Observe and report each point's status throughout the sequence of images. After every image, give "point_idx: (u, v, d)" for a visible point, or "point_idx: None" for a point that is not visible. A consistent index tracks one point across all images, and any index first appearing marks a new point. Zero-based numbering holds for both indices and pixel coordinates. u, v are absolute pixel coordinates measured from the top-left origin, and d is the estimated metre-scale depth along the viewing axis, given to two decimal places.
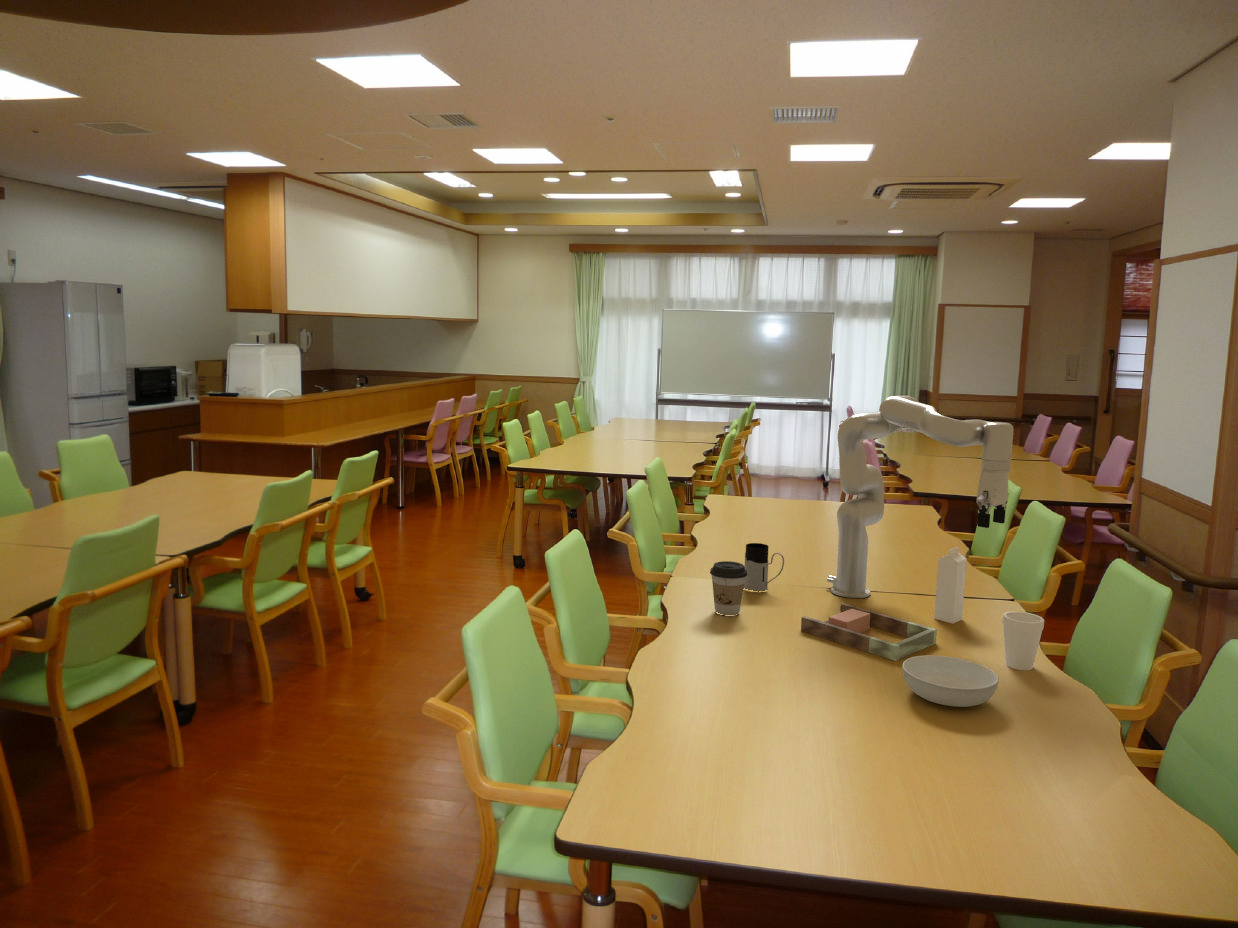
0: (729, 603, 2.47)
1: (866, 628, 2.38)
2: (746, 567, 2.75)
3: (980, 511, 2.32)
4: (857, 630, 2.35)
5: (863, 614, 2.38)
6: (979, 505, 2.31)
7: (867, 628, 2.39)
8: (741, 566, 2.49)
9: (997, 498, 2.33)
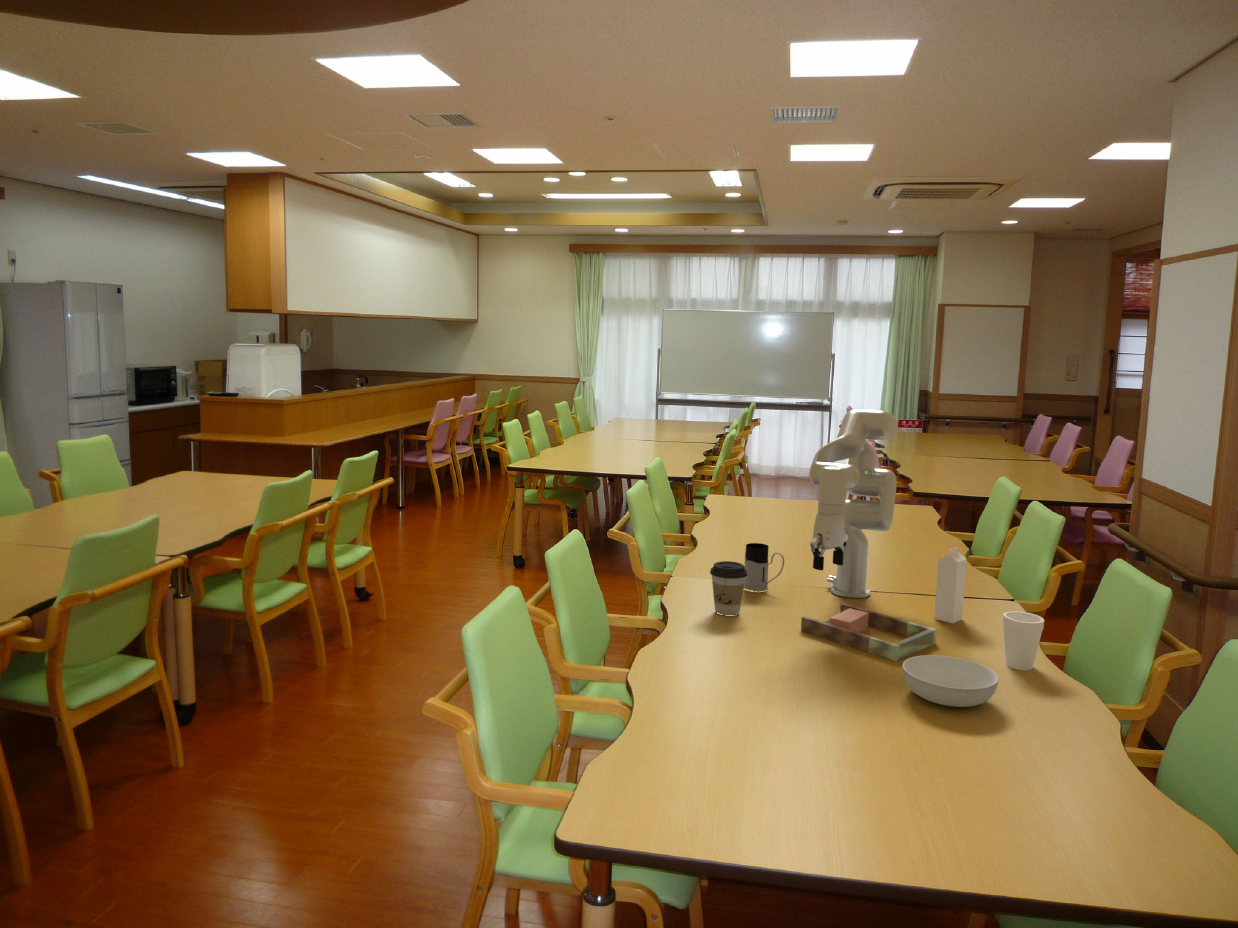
0: (729, 603, 2.48)
1: (865, 627, 2.39)
2: (746, 567, 2.75)
3: (814, 554, 2.36)
4: (858, 630, 2.35)
5: (862, 613, 2.38)
6: (812, 548, 2.35)
7: (866, 627, 2.39)
8: (741, 566, 2.49)
9: (831, 541, 2.36)
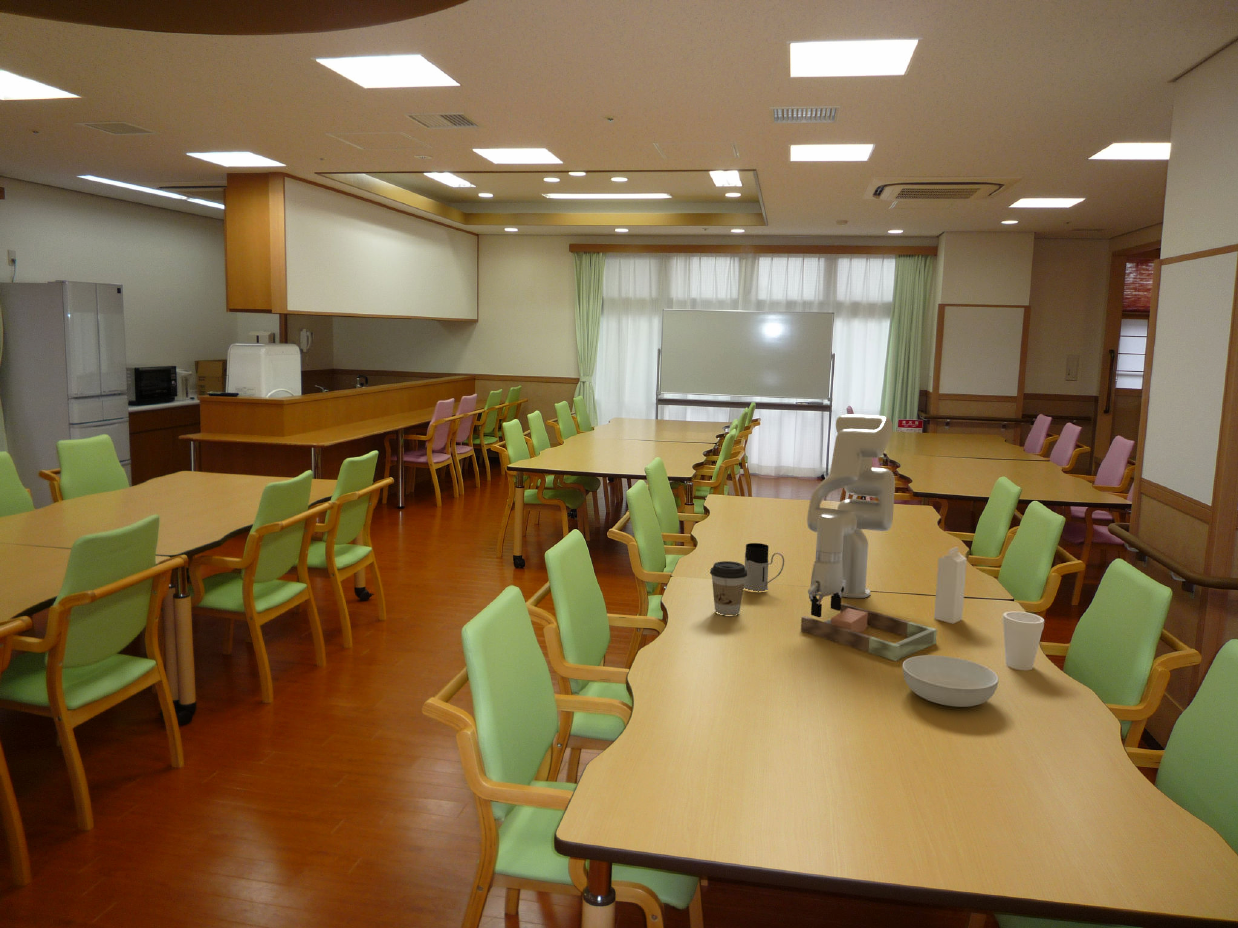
0: (729, 603, 2.47)
1: (865, 627, 2.39)
2: (746, 567, 2.75)
3: (812, 601, 2.38)
4: (858, 630, 2.35)
5: (862, 613, 2.39)
6: (810, 596, 2.37)
7: (865, 627, 2.40)
8: (741, 566, 2.49)
9: (829, 588, 2.39)
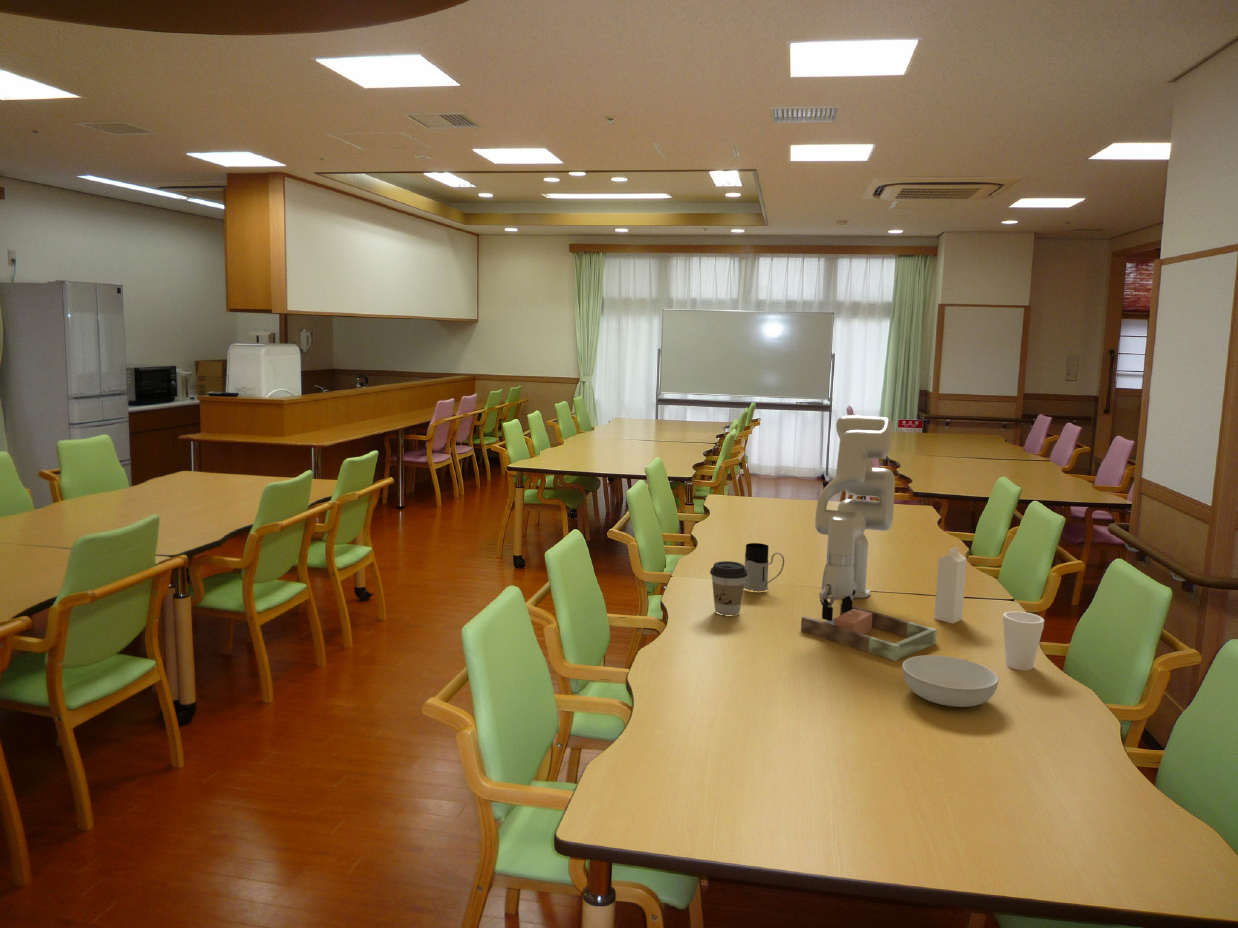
0: (729, 603, 2.47)
1: (869, 627, 2.38)
2: (746, 567, 2.75)
3: (823, 604, 2.36)
4: (862, 630, 2.34)
5: (866, 614, 2.38)
6: (821, 599, 2.34)
7: (870, 628, 2.39)
8: (741, 566, 2.49)
9: (840, 592, 2.36)
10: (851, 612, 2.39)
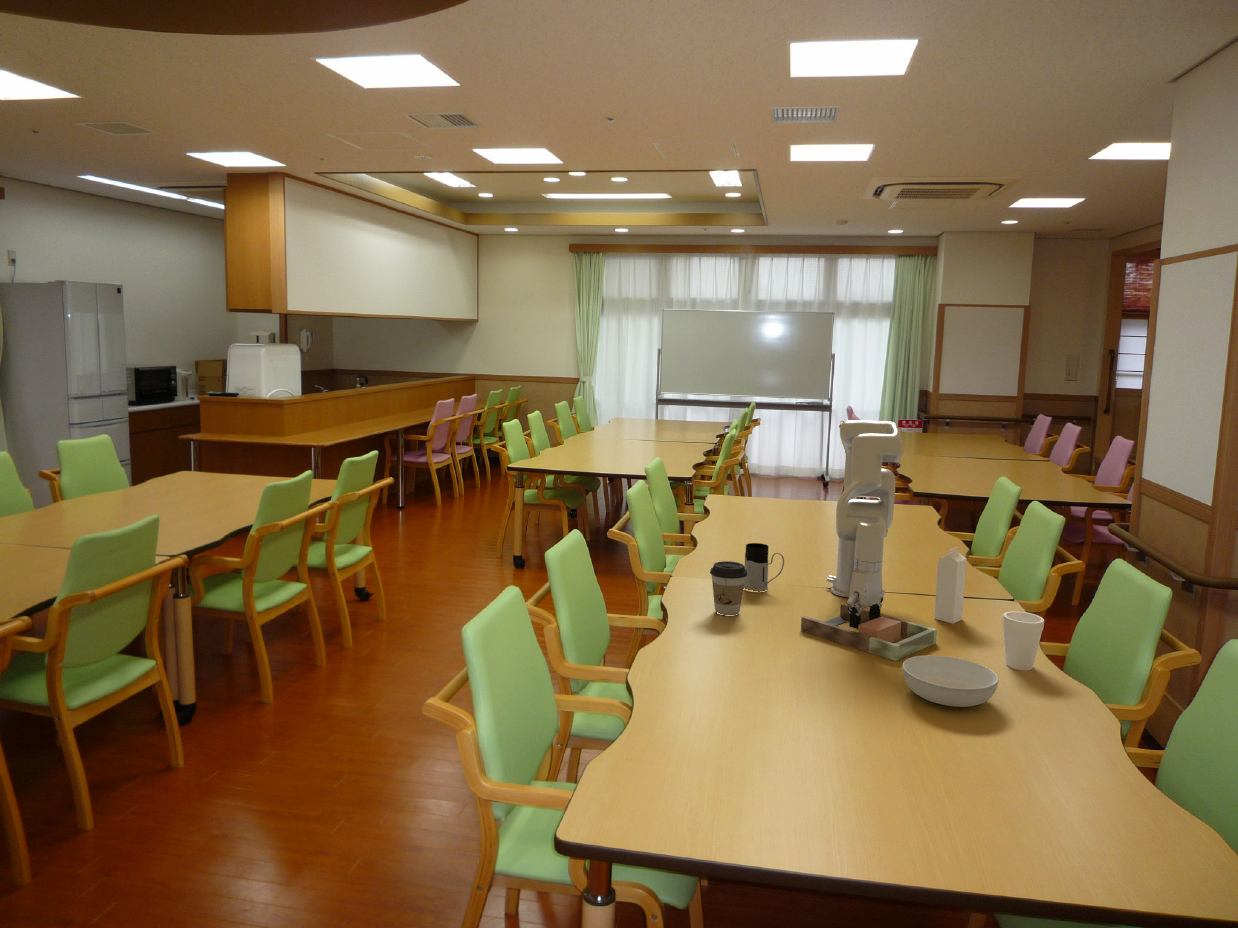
0: (729, 603, 2.47)
1: (897, 636, 2.31)
2: (746, 567, 2.75)
3: (851, 612, 2.29)
4: (888, 639, 2.28)
5: (894, 622, 2.31)
6: (849, 607, 2.27)
7: (898, 637, 2.32)
8: (741, 566, 2.49)
9: (868, 599, 2.29)
10: (879, 619, 2.33)
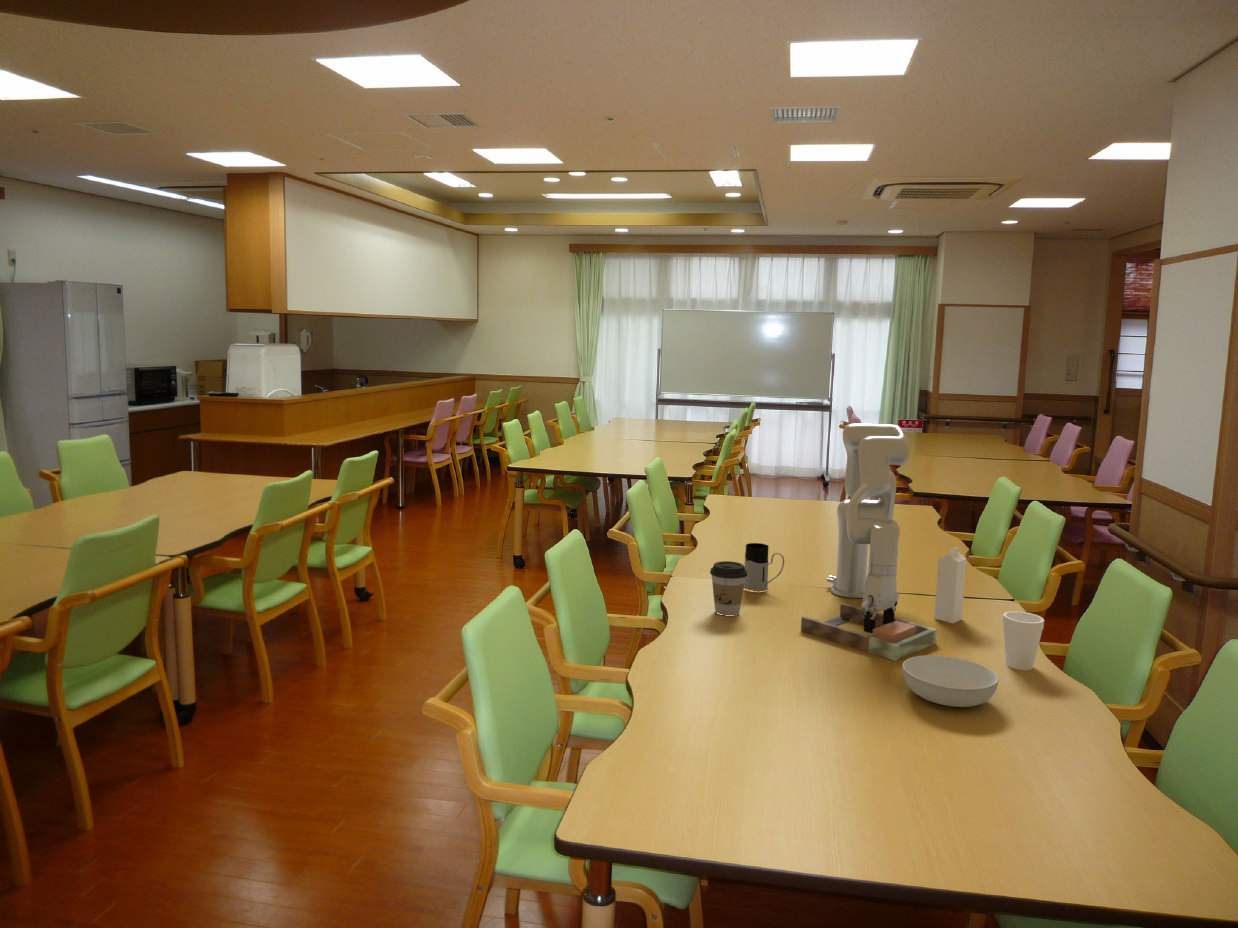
0: (729, 603, 2.47)
1: None
2: (746, 567, 2.75)
3: (865, 616, 2.26)
4: None
5: (909, 626, 2.28)
6: (863, 611, 2.24)
7: None
8: (741, 566, 2.49)
9: (883, 603, 2.26)
10: (893, 624, 2.30)
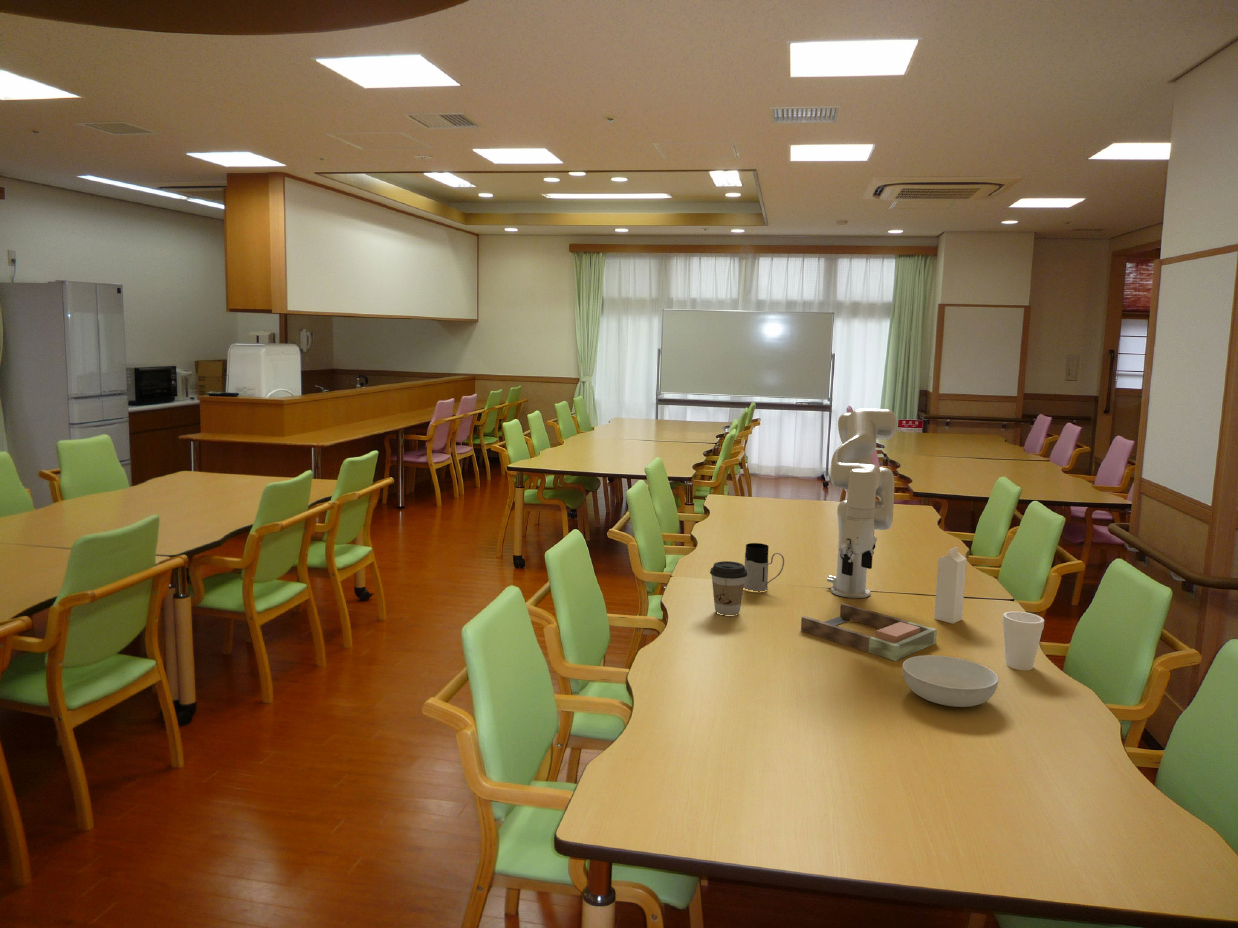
0: (729, 603, 2.48)
1: None
2: (746, 567, 2.75)
3: (843, 559, 2.30)
4: None
5: (912, 628, 2.27)
6: (841, 554, 2.29)
7: None
8: (741, 566, 2.49)
9: (860, 546, 2.30)
10: (897, 625, 2.29)
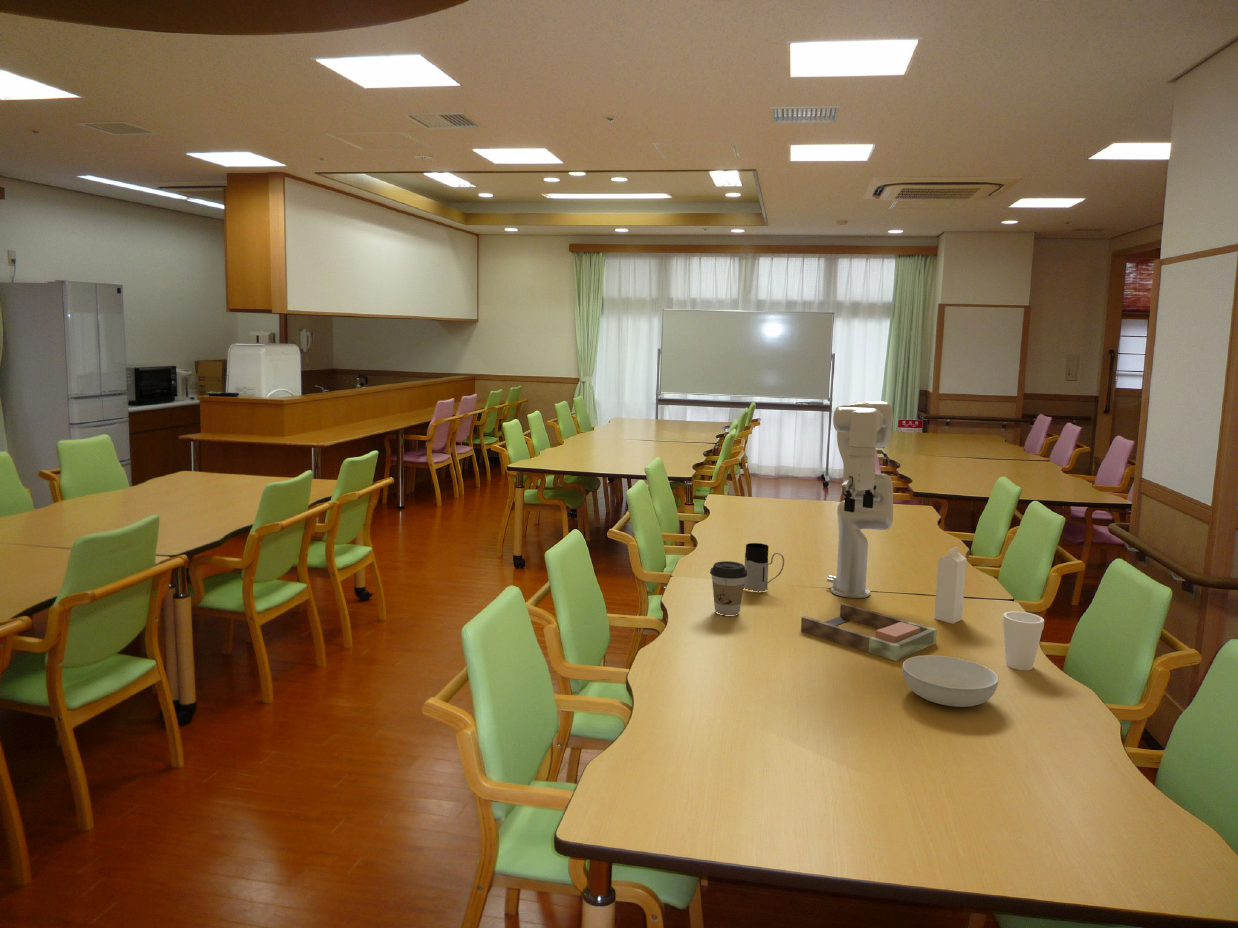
0: (729, 603, 2.47)
1: None
2: (746, 567, 2.75)
3: (845, 496, 2.40)
4: None
5: (913, 628, 2.27)
6: (843, 490, 2.39)
7: None
8: (741, 566, 2.49)
9: (862, 484, 2.40)
10: (897, 625, 2.29)
